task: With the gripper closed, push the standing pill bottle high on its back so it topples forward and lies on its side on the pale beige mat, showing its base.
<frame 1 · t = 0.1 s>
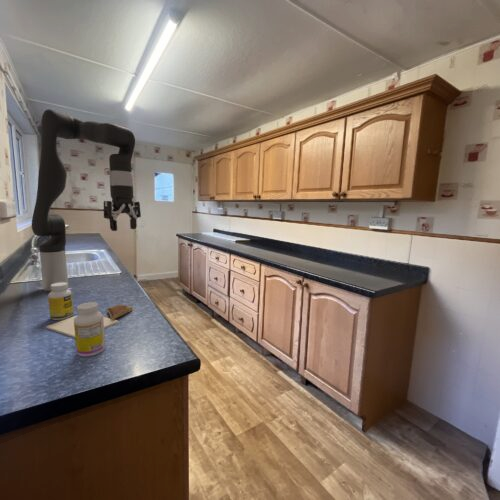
hand: (124, 229, 100), 29 cm above the worktop, tool pointing down, fingers open, 8 cm apart
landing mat: (83, 325, 87), on the worktop
shard: (121, 314, 96), on the worktop, touching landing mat
supplement bottle: (91, 351, 72), on the worktop
pill bottle: (62, 317, 93), on the worktop
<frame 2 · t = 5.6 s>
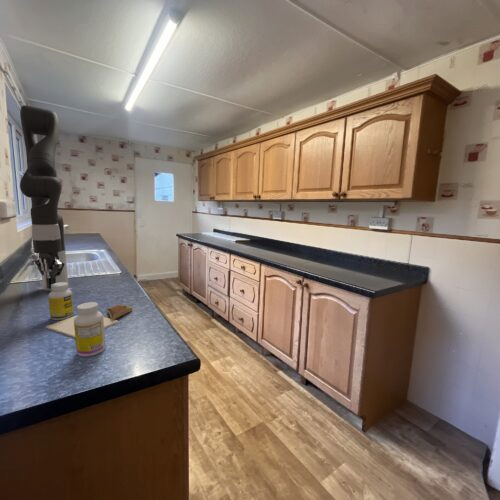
hand: (51, 287, 93), 10 cm above the worktop, tool pointing down, fingers closed
pill bottle: (62, 317, 93), on the worktop, touching gripper
everything else where it was.
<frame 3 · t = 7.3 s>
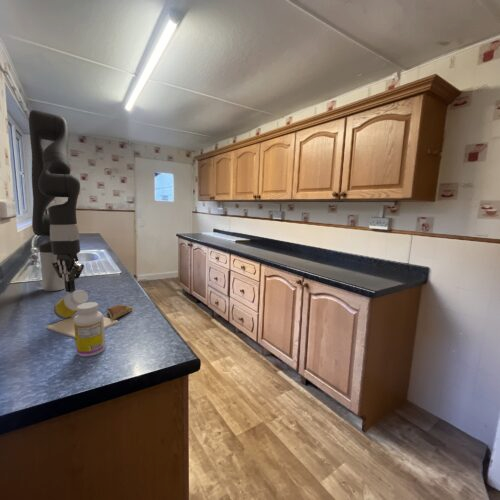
hand: (70, 291, 88), 10 cm above the worktop, tool pointing down, fingers closed
pill bottle: (63, 310, 92), point 3 cm above the worktop, touching gripper
everything else where it was.
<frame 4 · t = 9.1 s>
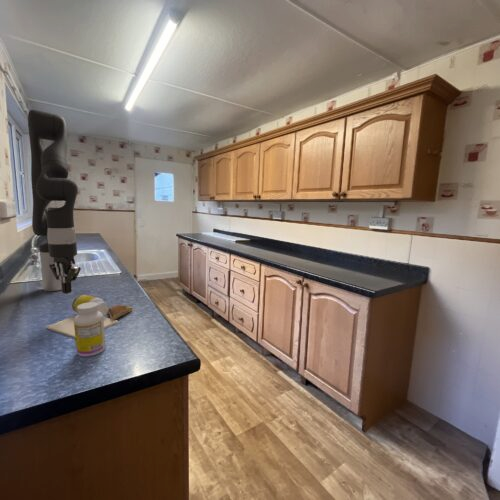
hand: (67, 292, 90), 9 cm above the worktop, tool pointing down, fingers closed
pill bottle: (79, 303, 95), point 4 cm above the worktop, touching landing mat
everything else where it was.
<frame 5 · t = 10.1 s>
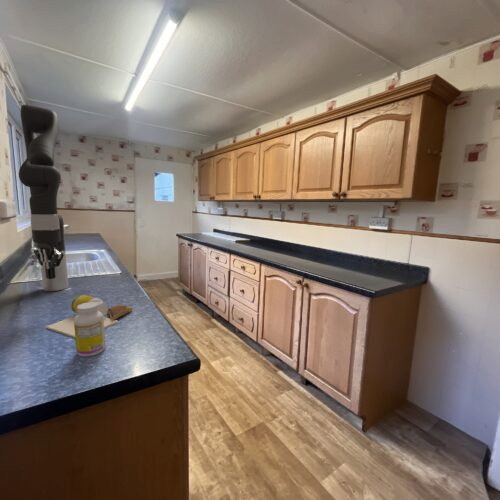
hand: (51, 278, 92), 13 cm above the worktop, tool pointing down, fingers closed
nothing on the worktop moved.
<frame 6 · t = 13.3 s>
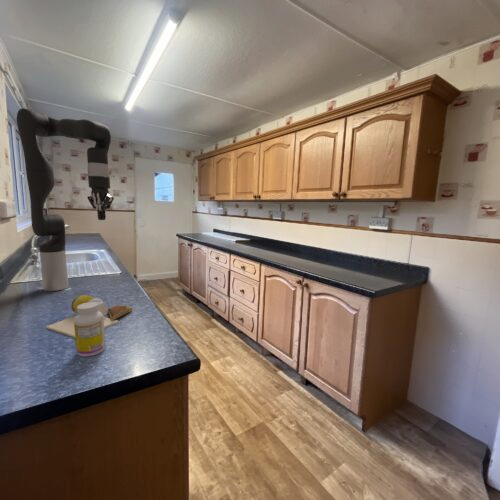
hand: (101, 219, 110), 32 cm above the worktop, tool pointing down, fingers closed
nothing on the worktop moved.
at the end: pill bottle tilted 90°; pill bottle inside the target area (5.9 cm from its centre), point 3.9 cm above the worktop; the gripper is holding nothing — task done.
